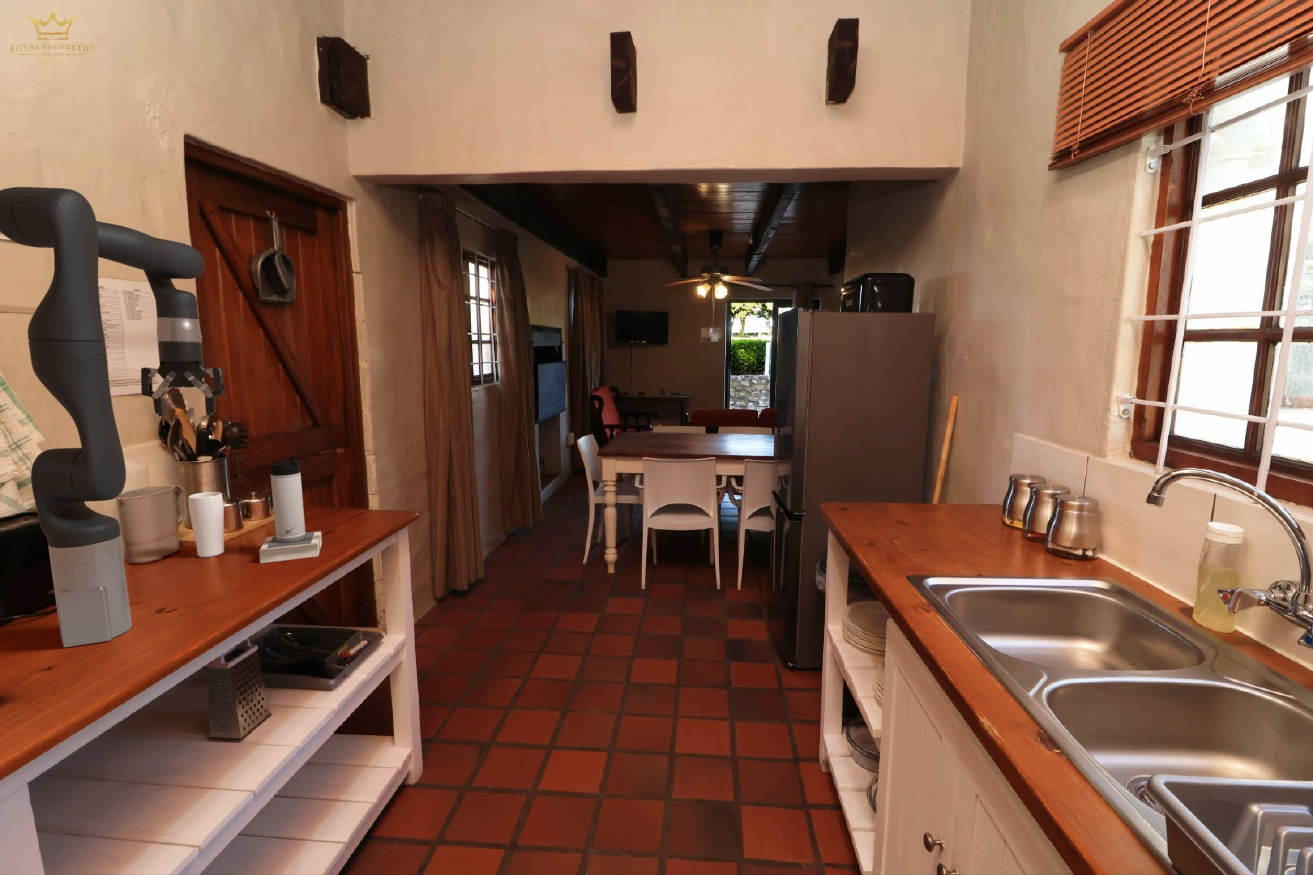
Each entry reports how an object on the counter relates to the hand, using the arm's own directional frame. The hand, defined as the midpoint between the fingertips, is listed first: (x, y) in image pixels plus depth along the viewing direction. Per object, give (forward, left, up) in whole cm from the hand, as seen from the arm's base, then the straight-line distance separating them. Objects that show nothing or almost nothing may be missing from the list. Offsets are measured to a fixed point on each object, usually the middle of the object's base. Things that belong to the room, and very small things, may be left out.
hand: (186, 415), depth 133 cm
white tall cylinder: (+14, +1, -36) cm, 38 cm away
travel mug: (+8, -17, -33) cm, 37 cm away
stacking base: (+8, -17, -36) cm, 40 cm away
